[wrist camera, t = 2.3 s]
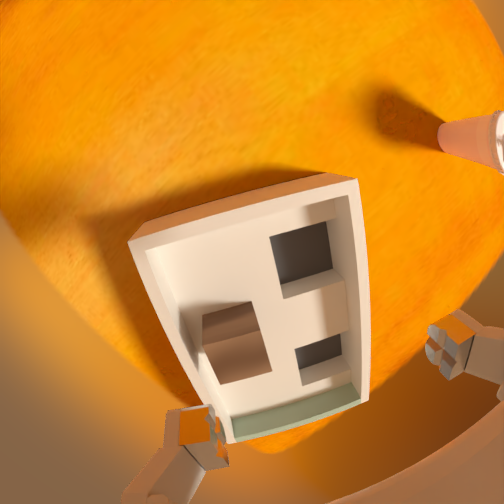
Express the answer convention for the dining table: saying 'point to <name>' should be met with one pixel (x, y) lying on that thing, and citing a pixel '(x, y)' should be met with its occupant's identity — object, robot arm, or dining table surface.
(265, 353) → the walnut block
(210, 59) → the dining table surface
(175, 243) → the box
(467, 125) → the smoothie
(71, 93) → the dining table surface
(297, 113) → the dining table surface
